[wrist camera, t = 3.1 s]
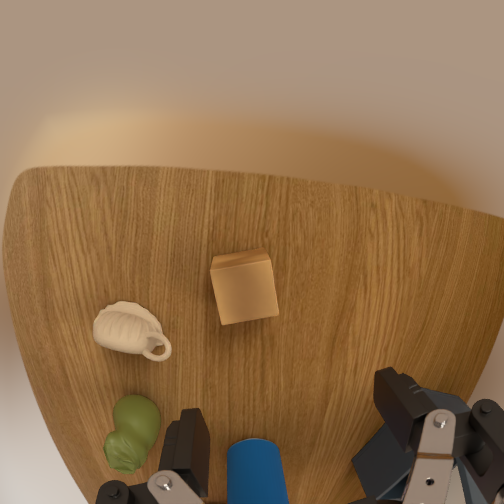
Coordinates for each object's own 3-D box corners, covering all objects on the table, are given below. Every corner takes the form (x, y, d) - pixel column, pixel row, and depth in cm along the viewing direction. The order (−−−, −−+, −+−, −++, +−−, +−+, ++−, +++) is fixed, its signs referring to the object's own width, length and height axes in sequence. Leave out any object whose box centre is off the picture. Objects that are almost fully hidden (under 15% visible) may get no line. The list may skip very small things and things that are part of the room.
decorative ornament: (100, 294, 26) (75, 316, 21) (182, 313, 27) (171, 341, 22) (99, 330, 27) (77, 356, 22) (177, 349, 28) (167, 381, 23)
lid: (512, 522, 11) (518, 519, 10) (472, 549, 9) (479, 546, 9) (488, 432, 24) (493, 429, 24) (447, 431, 22) (452, 427, 22)
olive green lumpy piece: (165, 423, 30) (150, 488, 20) (122, 415, 30) (98, 475, 20) (164, 389, 29) (144, 457, 19) (118, 380, 28) (87, 442, 19)
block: (264, 247, 26) (270, 259, 22) (272, 295, 27) (279, 315, 23) (213, 256, 26) (209, 270, 22) (223, 303, 27) (221, 325, 23)
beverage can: (270, 465, 33) (281, 537, 21) (222, 461, 32) (222, 535, 20) (285, 436, 31) (301, 515, 20) (232, 431, 31) (235, 514, 19)
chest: (402, 462, 35) (422, 497, 27) (351, 459, 34) (369, 503, 25) (458, 396, 33) (489, 429, 24) (414, 385, 31) (448, 427, 23)
